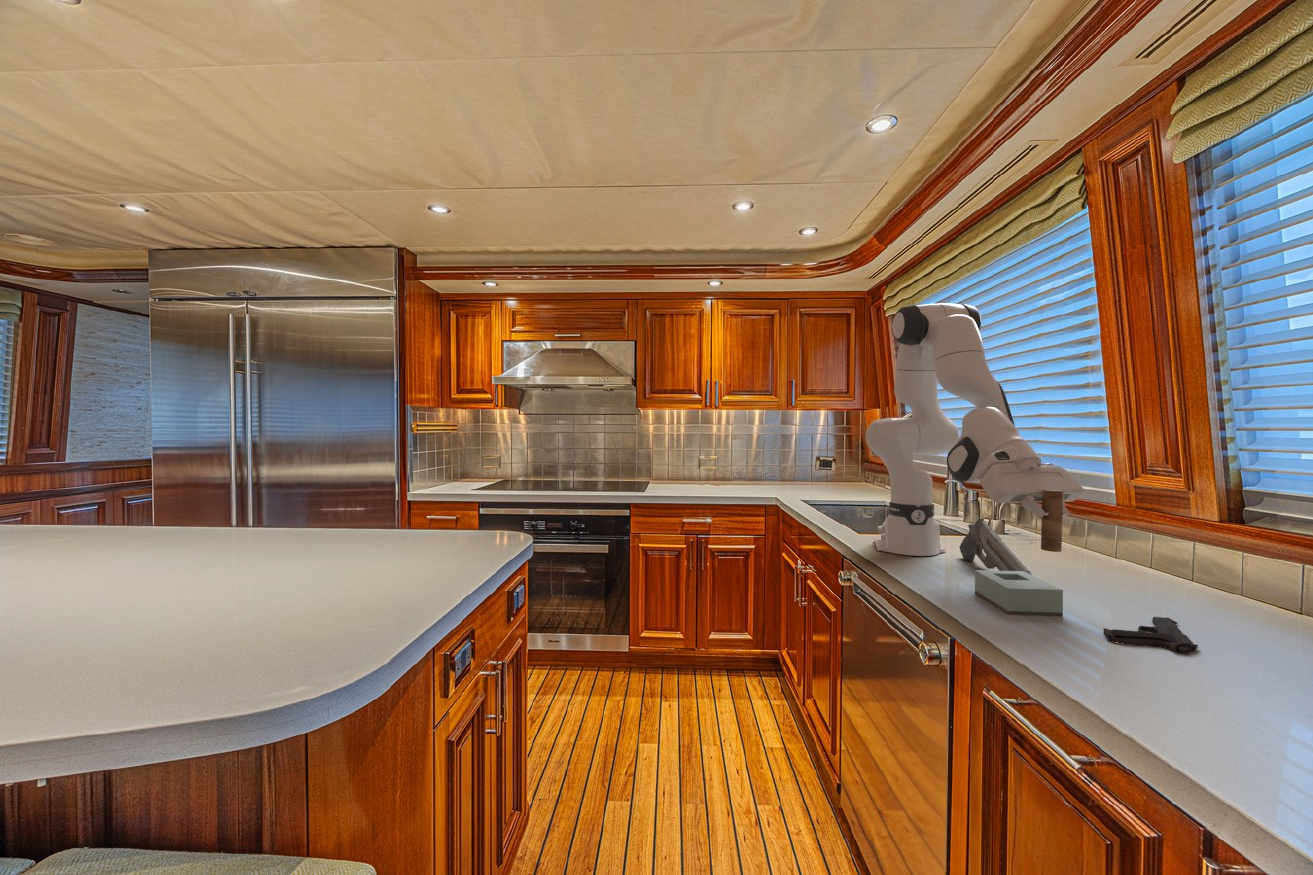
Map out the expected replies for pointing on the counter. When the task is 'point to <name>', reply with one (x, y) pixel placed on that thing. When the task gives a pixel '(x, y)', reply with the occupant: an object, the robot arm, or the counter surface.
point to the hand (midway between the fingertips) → (1054, 516)
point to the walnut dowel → (1052, 521)
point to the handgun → (1155, 636)
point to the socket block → (1019, 592)
